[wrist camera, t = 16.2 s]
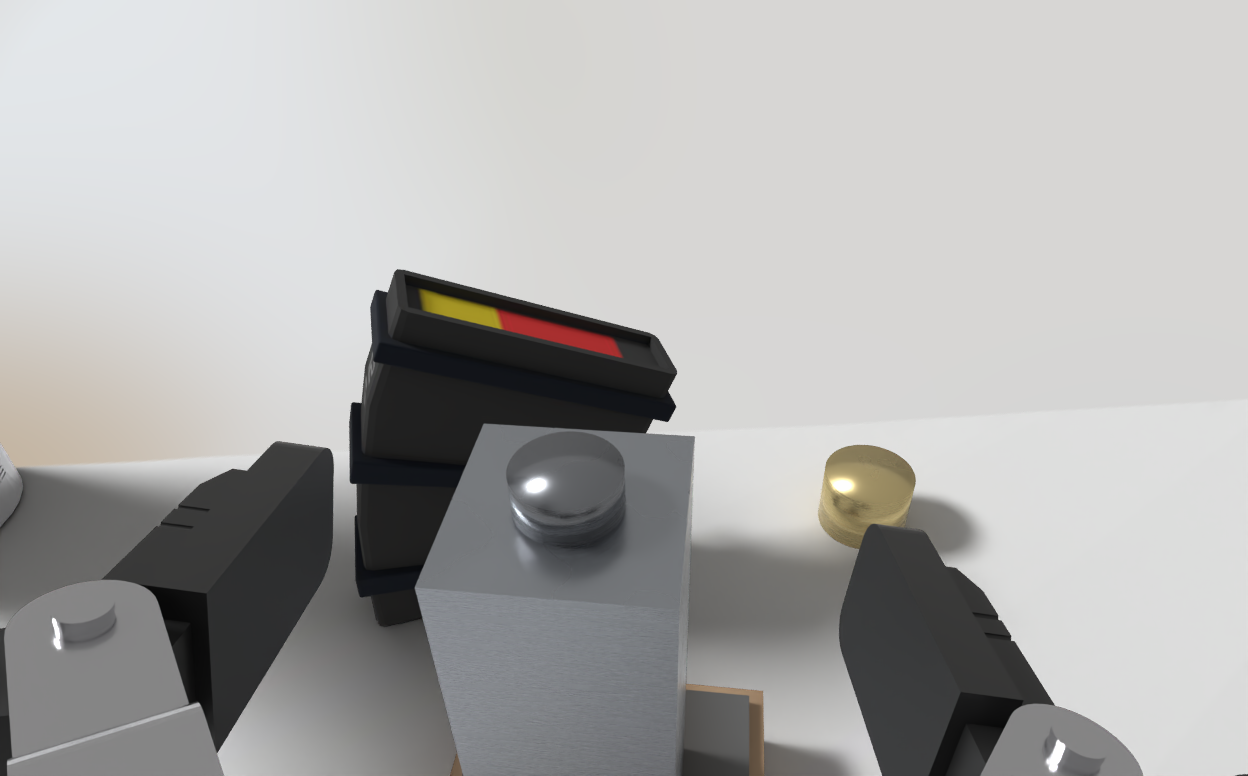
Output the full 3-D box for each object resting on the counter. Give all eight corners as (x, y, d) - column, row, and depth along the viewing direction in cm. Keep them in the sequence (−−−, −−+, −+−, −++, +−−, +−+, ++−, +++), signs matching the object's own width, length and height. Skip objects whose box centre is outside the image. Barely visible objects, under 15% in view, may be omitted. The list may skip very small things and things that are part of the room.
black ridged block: (292, 561, 36) (384, 260, 29) (567, 588, 42) (696, 341, 35) (287, 630, 33) (388, 312, 26) (584, 648, 39) (728, 391, 32)
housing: (494, 896, 23) (405, 550, 15) (532, 732, 27) (478, 389, 19) (671, 918, 23) (680, 572, 14) (683, 748, 27) (695, 401, 18)
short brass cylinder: (820, 546, 38) (828, 499, 36) (816, 488, 41) (823, 442, 40) (909, 554, 38) (921, 507, 36) (898, 494, 41) (909, 447, 39)
